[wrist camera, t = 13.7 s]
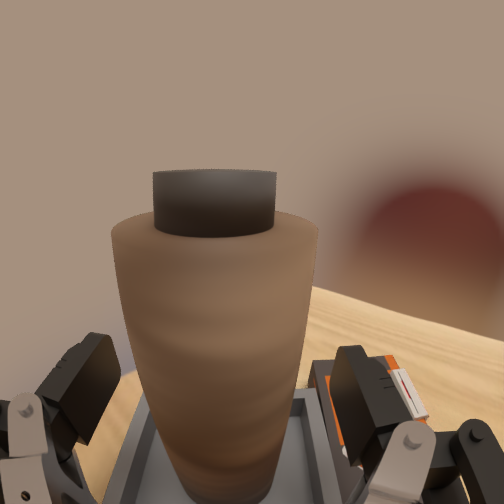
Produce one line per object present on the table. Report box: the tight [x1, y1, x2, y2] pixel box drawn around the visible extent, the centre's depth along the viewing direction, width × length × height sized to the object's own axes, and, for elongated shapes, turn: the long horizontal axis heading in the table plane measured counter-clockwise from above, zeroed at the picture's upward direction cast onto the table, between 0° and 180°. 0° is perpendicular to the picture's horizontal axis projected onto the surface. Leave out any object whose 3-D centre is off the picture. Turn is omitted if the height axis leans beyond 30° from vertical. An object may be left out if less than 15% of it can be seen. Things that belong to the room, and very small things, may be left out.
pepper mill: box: [111, 169, 318, 504], centre depth 8 cm, size 5×5×14 cm
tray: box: [102, 388, 342, 504], centre depth 10 cm, size 10×10×2 cm
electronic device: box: [308, 355, 429, 504], centre depth 11 cm, size 7×3×15 cm
